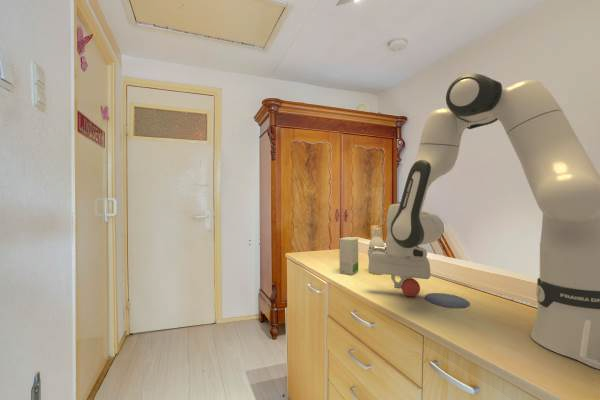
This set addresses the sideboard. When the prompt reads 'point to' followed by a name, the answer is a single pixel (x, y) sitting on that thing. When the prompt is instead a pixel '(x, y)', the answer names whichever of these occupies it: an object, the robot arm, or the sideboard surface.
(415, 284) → the ball
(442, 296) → the dark gray round plate
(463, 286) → the sideboard surface
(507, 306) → the sideboard surface
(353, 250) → the skincare box
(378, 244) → the bath foam
